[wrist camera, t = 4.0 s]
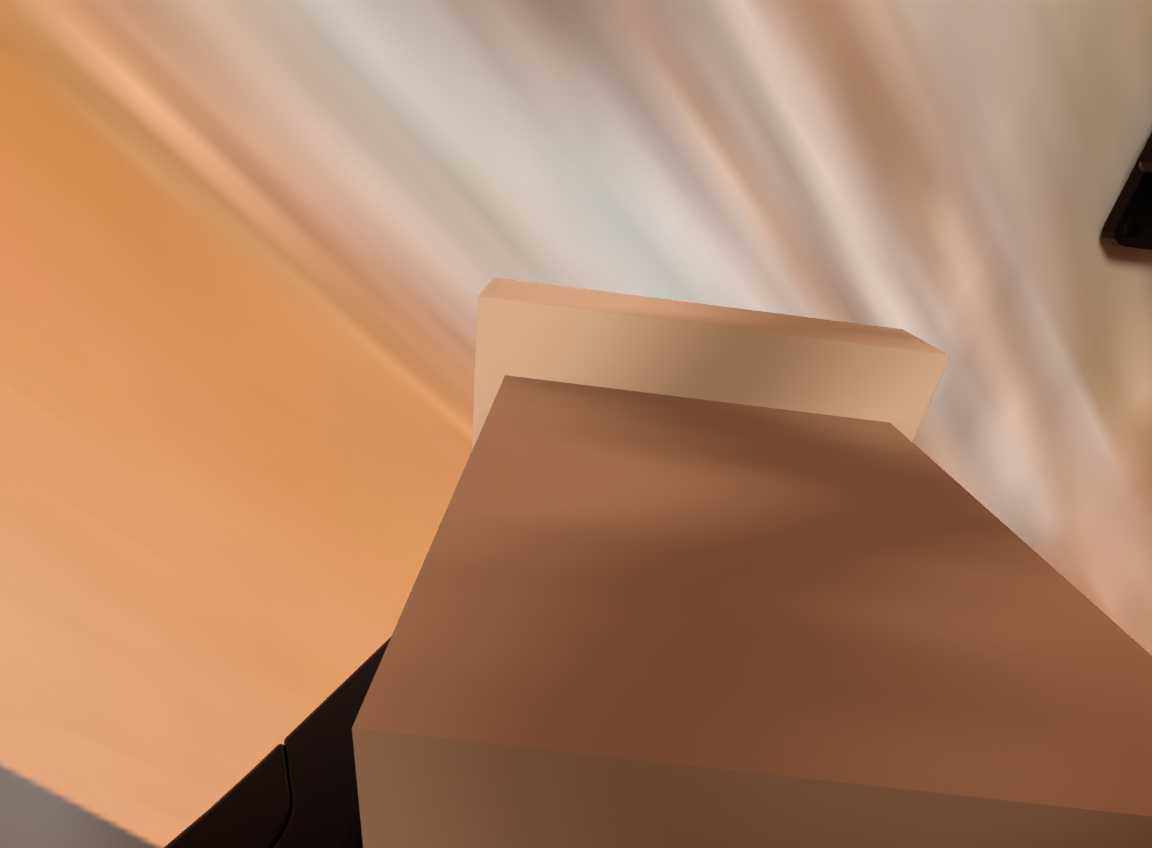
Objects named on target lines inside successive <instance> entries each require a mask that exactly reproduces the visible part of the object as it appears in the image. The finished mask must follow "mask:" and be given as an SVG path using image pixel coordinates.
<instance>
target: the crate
mask: <svg viewBox="0 0 1152 848" xmlns="http://www.w3.org/2000/svg"><path fill="white" fill-rule="evenodd" d="M949 357H950V355H948V354H946V353H944V352H942V351H941V350H939V349H937V348H935V347H933V346H932V345H930V344H928V343H926V342H924V341H922V340H921V339H919V338H917V337H915V336H913V335H912V334H910V333H908V332H906V331H904V330H902V329H895V328H887V327H879V326H871V325H863V324H855V323H847V322H839V321H831V320H824V319H816V318H808V317H800V316H792V315H784V314H776V313H768V312H760V311H752V310H745V309H737V308H729V307H721V306H713V305H705V304H697V303H689V302H681V301H673V300H665V299H658V298H650V297H642V296H634V295H626V294H618V293H610V292H602V291H594V290H586V289H579V288H571V287H563V286H555V285H547V284H539V283H531V282H523V281H515V280H507V279H499V278H494V279H493V280H492V281H491V282H490V283H489V284H488V286H487V287H486V288H485V289H484V290H483V291H482V292H481V293H480V295H479V296H478V308H477V334H476V359H475V385H474V410H473V436H472V452H471V455H470V457H469V459H468V462H467V464H466V466H465V469H464V471H463V473H462V476H461V478H460V480H459V482H458V485H457V487H456V489H455V492H454V494H453V496H452V499H451V501H450V503H449V505H448V508H447V510H446V512H445V515H444V517H443V519H442V522H441V524H440V526H439V529H438V531H437V533H436V535H435V538H434V540H433V542H432V545H431V547H430V549H429V552H428V554H427V556H426V558H425V561H424V563H423V565H422V568H421V570H420V572H419V575H418V577H417V579H416V581H415V584H414V586H413V588H412V591H411V593H410V595H409V598H408V600H407V602H406V605H405V607H404V609H403V611H402V614H401V616H400V618H399V621H398V623H397V625H396V628H395V630H394V632H393V634H392V637H391V639H390V641H389V644H388V646H387V648H386V651H385V653H384V655H383V658H382V660H381V662H380V664H379V667H378V669H377V671H376V674H375V676H374V678H373V681H372V683H371V685H370V687H369V690H368V692H367V694H366V697H365V699H364V701H363V704H362V706H361V708H360V710H359V713H358V715H357V717H356V720H355V722H354V724H353V727H352V735H353V746H354V756H355V767H356V778H357V788H358V799H359V809H360V820H361V830H362V841H363V848H1152V656H1151V655H1150V654H1149V653H1148V652H1147V651H1146V650H1145V649H1143V648H1142V647H1141V646H1140V645H1139V644H1138V643H1137V642H1136V641H1134V640H1133V639H1132V638H1131V637H1130V636H1129V635H1128V634H1127V633H1126V632H1124V631H1123V630H1122V629H1121V628H1120V627H1119V626H1118V625H1117V624H1115V623H1114V622H1113V621H1112V620H1111V619H1110V618H1109V617H1108V616H1106V615H1105V614H1104V613H1103V612H1102V611H1101V610H1100V609H1099V608H1097V607H1096V606H1095V605H1094V604H1093V603H1092V602H1091V601H1090V600H1088V599H1087V598H1086V597H1085V596H1084V595H1083V594H1082V593H1081V592H1080V591H1078V590H1077V589H1076V588H1075V587H1074V586H1073V585H1072V584H1071V583H1069V582H1068V581H1067V580H1066V579H1065V578H1064V577H1063V576H1062V575H1060V574H1059V573H1058V572H1057V571H1056V570H1055V569H1054V568H1053V567H1051V566H1050V565H1049V564H1048V563H1047V562H1046V561H1045V560H1044V559H1043V558H1041V557H1040V556H1039V555H1038V554H1037V553H1036V552H1035V551H1034V550H1032V549H1031V548H1030V547H1029V546H1028V545H1027V544H1026V543H1025V542H1023V541H1022V540H1021V539H1020V538H1019V537H1018V536H1017V535H1016V534H1014V533H1013V532H1012V531H1011V530H1010V529H1009V528H1008V527H1007V526H1006V525H1004V524H1003V523H1002V522H1001V521H1000V520H999V519H998V518H997V517H995V516H994V515H993V514H992V513H991V512H990V511H989V510H988V509H986V508H985V507H984V506H983V505H982V504H981V503H980V502H979V501H977V500H976V499H975V498H974V497H973V496H972V495H971V494H970V493H968V492H967V491H966V490H965V489H964V488H963V487H962V486H961V485H960V484H958V483H957V482H956V481H955V480H954V479H953V478H952V477H951V476H949V475H948V474H947V473H946V472H945V471H944V470H943V469H942V468H940V467H939V466H938V465H937V464H936V463H935V462H934V461H933V460H931V459H930V458H929V457H928V456H927V455H926V454H925V453H924V452H923V451H921V450H920V449H919V448H918V447H917V446H916V445H915V444H914V443H912V442H913V439H914V437H915V435H916V433H917V430H918V428H919V426H920V423H921V421H922V419H923V417H924V414H925V412H926V410H927V407H928V405H929V403H930V401H931V398H932V396H933V394H934V391H935V389H936V387H937V385H938V382H939V380H940V378H941V376H942V373H943V371H944V369H945V366H946V364H947V362H948V360H949Z"/></svg>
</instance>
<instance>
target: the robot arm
mask: <svg viewBox="0 0 1152 848" xmlns="http://www.w3.org/2000/svg"><path fill="white" fill-rule="evenodd" d="M1130 221H1132V225H1131V228H1130V229H1129V230H1128V232H1126V233H1125V234H1124V229H1125V226H1126V225H1127V224H1128V223H1129V222H1130ZM1103 238H1104V239H1105V241H1106V242H1107V243H1110V244H1113V245H1119V246H1125V247H1133V248H1140V249H1148V250H1152V133H1151V135H1150V137H1149V139H1148V141H1147V143H1146V145H1145V147H1144V149H1143V151H1142V153H1141V155H1140V157H1139V159H1138V160H1137V162H1136V164H1135V166H1134V168H1133V170H1132V172H1131V174H1130V176H1129V178H1128V180H1127V182H1126V184H1125V186H1124V188H1123V190H1122V192H1121V194H1120V196H1119V197H1118V199H1117V201H1116V203H1115V205H1114V207H1113V209H1112V211H1111V213H1110V215H1109V217H1108V219H1107V221H1106V223H1105V225H1104V228H1103ZM391 637H392V636H391ZM391 637H390V638H389V639H388V640H387V641H386V642H385V643H384V644H383V645H382V646H381V647H380V648H379V649H378V650H377V651H376V652H375V653H374V654H373V655H372V656H371V657H370V658H369V659H367V660H366V661H365V662H364V663H363V664H362V665H361V666H360V667H359V668H358V669H357V670H356V671H355V672H354V673H353V674H352V675H351V676H350V677H349V678H348V679H347V680H346V681H345V682H344V683H342V684H341V685H340V686H339V687H338V688H337V689H336V690H335V691H334V692H333V693H332V694H331V695H330V696H329V697H328V698H327V699H326V700H325V701H324V702H323V703H322V704H321V705H320V706H319V707H317V708H316V709H315V710H314V711H313V712H312V713H311V714H310V715H309V716H308V717H307V718H306V719H305V720H304V721H303V722H302V723H301V724H300V725H299V726H298V727H297V728H296V729H295V730H294V731H292V732H291V733H290V734H289V735H288V736H287V737H286V738H285V740H284V745H285V746H284V745H283V744H279V745H277V746H276V747H275V748H274V749H273V750H272V751H271V752H270V753H269V754H268V755H267V756H266V757H265V758H264V759H263V760H262V761H261V762H260V763H259V764H258V765H257V766H256V767H255V768H254V769H253V770H251V771H250V772H249V773H248V774H247V775H246V776H245V777H244V778H243V779H242V780H241V781H239V782H238V783H237V784H236V785H235V786H234V787H233V788H232V789H231V790H230V791H229V792H227V793H226V794H225V795H224V796H223V797H222V798H221V799H220V800H219V801H218V802H217V803H216V804H214V805H213V806H212V807H211V808H210V809H209V810H208V811H207V812H205V813H204V814H203V815H202V816H201V817H199V818H198V819H197V820H196V821H195V822H194V823H192V824H191V825H190V826H189V827H188V828H186V829H185V830H184V831H183V832H182V833H181V834H179V835H178V836H177V837H176V838H175V839H173V840H172V841H171V842H170V843H169V844H168V845H166V846H165V847H164V848H363V841H362V830H361V820H360V809H359V799H358V788H357V778H356V767H355V756H354V746H353V735H352V727H353V724H354V722H355V720H356V717H357V715H358V713H359V710H360V708H361V706H362V704H363V701H364V699H365V697H366V694H367V692H368V690H369V687H370V685H371V683H372V681H373V678H374V676H375V674H376V671H377V669H378V667H379V664H380V662H381V660H382V658H383V655H384V653H385V651H386V648H387V646H388V644H389V641H390V639H391Z"/></svg>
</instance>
